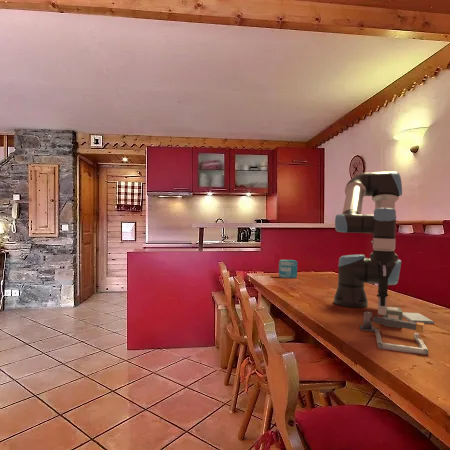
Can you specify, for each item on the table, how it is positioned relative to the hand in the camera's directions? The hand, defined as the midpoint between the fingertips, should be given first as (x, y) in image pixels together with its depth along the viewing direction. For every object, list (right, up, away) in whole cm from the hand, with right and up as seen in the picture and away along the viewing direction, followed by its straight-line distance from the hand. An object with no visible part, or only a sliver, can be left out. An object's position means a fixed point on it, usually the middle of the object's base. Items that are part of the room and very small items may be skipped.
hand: (382, 314), depth 125 cm
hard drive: (+20, -6, +13) cm, 24 cm away
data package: (-14, -4, +110) cm, 111 cm away
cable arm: (+2, -2, -8) cm, 8 cm away
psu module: (+6, -5, +5) cm, 9 cm away
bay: (-2, -5, -16) cm, 16 cm away
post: (-6, -5, -2) cm, 8 cm away
